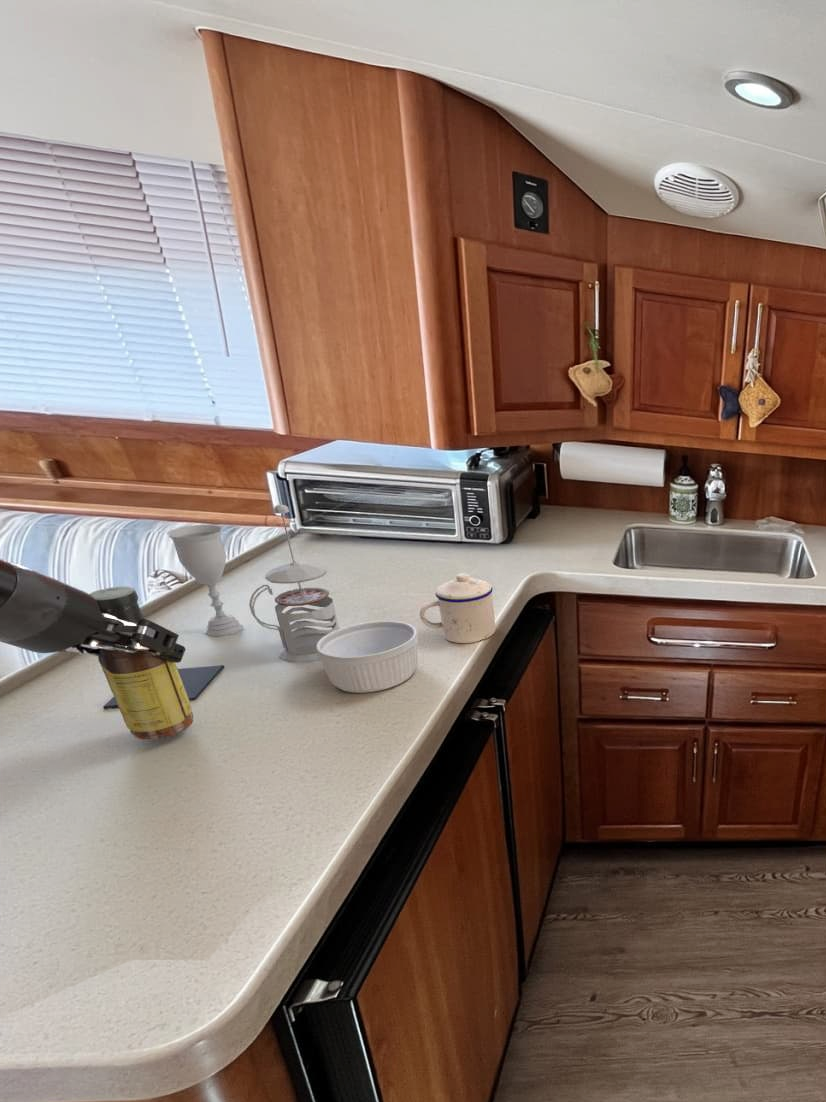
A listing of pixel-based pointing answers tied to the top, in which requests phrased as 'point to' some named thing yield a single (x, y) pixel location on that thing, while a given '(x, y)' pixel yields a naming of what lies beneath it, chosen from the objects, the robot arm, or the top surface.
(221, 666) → the mat
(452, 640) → the teacup with lid
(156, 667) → the sauce bottle
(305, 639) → the french press
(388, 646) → the ramekin
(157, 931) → the top surface
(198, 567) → the chalice
